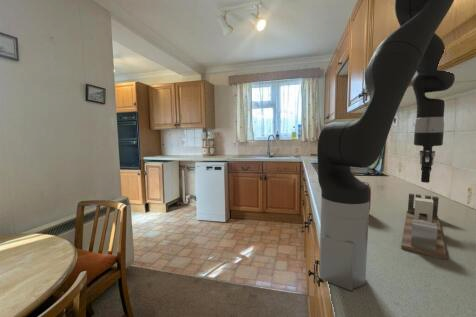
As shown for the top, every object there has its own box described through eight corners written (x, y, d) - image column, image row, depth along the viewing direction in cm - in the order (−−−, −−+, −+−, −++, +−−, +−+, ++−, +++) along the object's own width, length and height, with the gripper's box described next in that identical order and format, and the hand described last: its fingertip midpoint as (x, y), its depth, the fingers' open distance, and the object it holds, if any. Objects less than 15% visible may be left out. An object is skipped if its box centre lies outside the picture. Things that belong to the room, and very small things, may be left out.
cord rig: (446, 259, 56) (449, 227, 55) (401, 248, 61) (402, 219, 60) (437, 218, 83) (439, 196, 82) (406, 213, 88) (408, 192, 88)
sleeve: (431, 223, 71) (433, 202, 70) (413, 220, 73) (415, 200, 73) (431, 220, 74) (432, 199, 73) (414, 217, 77) (415, 197, 76)
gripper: (445, 131, 69) (441, 187, 71) (442, 131, 79) (438, 180, 81) (414, 131, 74) (410, 184, 75) (414, 131, 84) (411, 178, 86)
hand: (425, 182), depth 78 cm, fingers closed
